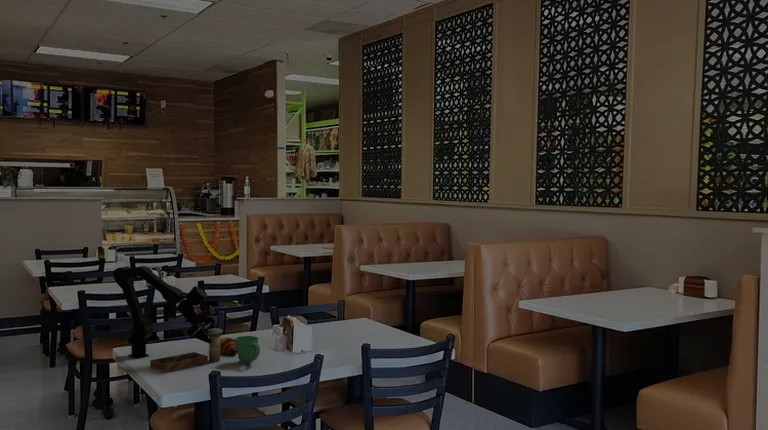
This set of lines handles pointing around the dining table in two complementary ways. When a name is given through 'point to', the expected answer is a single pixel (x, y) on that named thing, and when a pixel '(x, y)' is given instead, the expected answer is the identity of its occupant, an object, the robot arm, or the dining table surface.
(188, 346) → the dining table surface
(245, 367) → the dining table surface
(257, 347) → the mug
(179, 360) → the tray
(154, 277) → the robot arm
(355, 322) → the dining table surface
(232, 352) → the croissant
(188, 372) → the dining table surface
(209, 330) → the peg
